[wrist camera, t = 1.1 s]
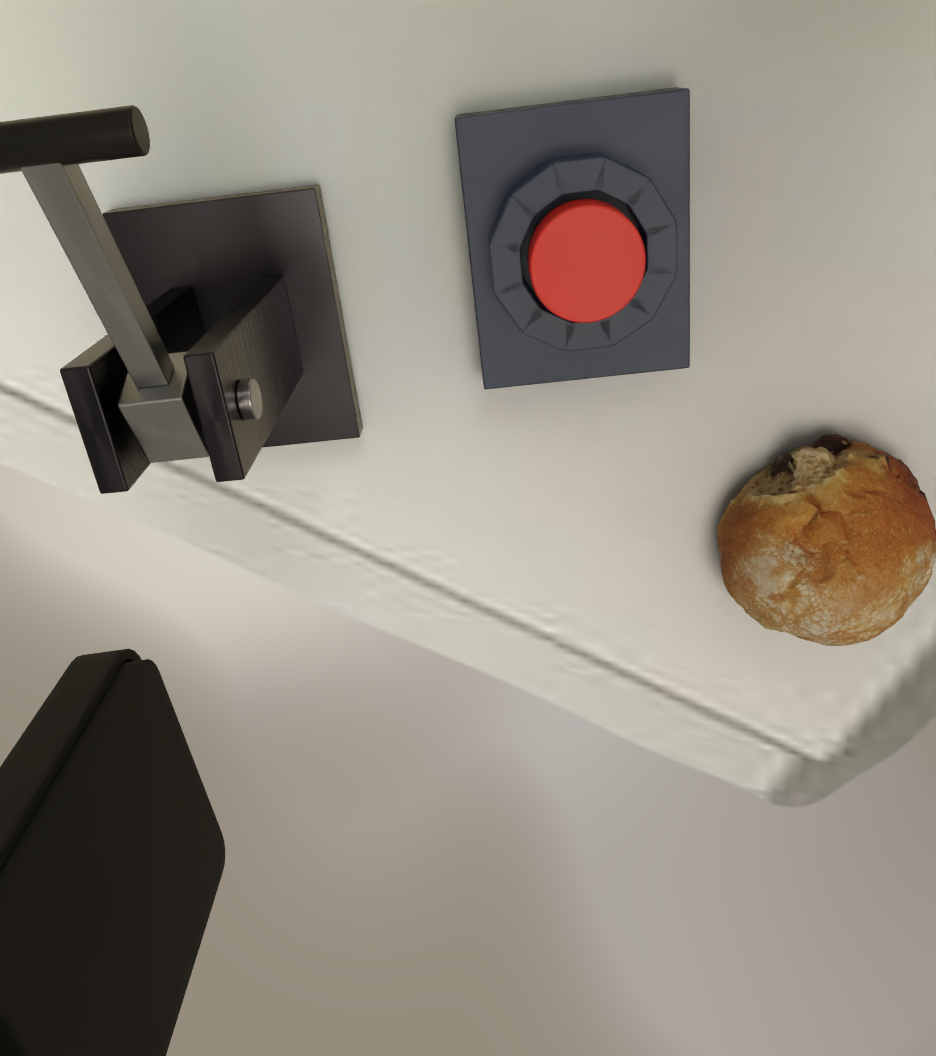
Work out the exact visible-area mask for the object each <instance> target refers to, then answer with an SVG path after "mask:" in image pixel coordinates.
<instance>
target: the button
mask: <svg viewBox="0 0 936 1056" xmlns="http://www.w3.org/2000/svg"><path fill="white" fill-rule="evenodd" d="M645 265H646V255H645V248H644V244H643V241H642V238H641V236H640V234H639V232H638V230H637V229H636V227H635V226H634V224H633V223H632V222H631V221H630V220H629V219H628V218H627V217H626V216H625V215H624V214H623V213H622V212H621V211H620V210H618V209H617V208H616V207H614V206H612V205H611V204H609V203H606V202H604V201H600V200H596V199H578V200H572V201H569V202H566V203H564V204H562V205H560V206H558V207H556V208H555V209H553V210H552V211H551V212H550V213H548V214H547V215H546V216H545V217H544V218H543V219H542V221H541V222H540V223H539V225H538V226H537V227H536V229H535V231H534V233H533V235H532V238H531V241H530V244H529V248H528V269H529V274H530V278H531V282H532V285H533V288H534V290H535V293H536V295H537V296H538V298H539V300H540V301H541V302H542V303H543V305H544V306H545V307H546V308H547V309H548V310H550V311H551V312H552V313H554V314H555V315H557V316H559V317H561V318H563V319H566V320H568V321H573V322H579V323H591V322H596V321H600V320H603V319H606V318H608V317H611V316H613V315H614V314H616V313H617V312H619V311H620V310H621V309H623V308H624V307H625V306H626V305H627V304H628V303H629V302H630V301H631V300H632V298H633V297H634V296H635V294H636V292H637V291H638V289H639V287H640V285H641V282H642V280H643V276H644V272H645Z"/></svg>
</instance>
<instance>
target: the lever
mask: <svg viewBox="0 0 936 1056" xmlns="http://www.w3.org/2000/svg"><path fill="white" fill-rule="evenodd" d="M149 149H150V139H149V132H148V128H147V125H146V122H145V119H144V117H143V115H142V113H141V112H140V110H139V109H138V108H137V107H136V106H133V105H131V106H124V107H116V108H108V109H100V110H92V111H84V112H76V113H69V114H61V115H53V116H45V117H37V118H29V119H21V120H14V121H6V122H0V174H1V173H9V172H17V171H22V172H23V174H24V176H25V178H26V180H27V181H28V183H29V185H30V187H31V189H32V191H33V193H34V195H35V197H36V198H37V200H38V202H39V204H40V206H41V208H42V210H43V212H44V214H45V215H46V217H47V219H48V221H49V223H50V225H51V227H52V229H53V231H54V232H55V234H56V236H57V238H58V240H59V242H60V244H61V246H62V248H63V249H64V251H65V253H66V255H67V257H68V259H69V261H70V263H71V265H72V266H73V268H74V270H75V272H76V274H77V276H78V278H79V280H80V282H81V283H82V285H83V287H84V289H85V291H86V293H87V295H88V297H89V299H90V301H91V302H92V304H93V306H94V308H95V310H96V312H97V314H98V316H99V318H100V319H101V321H102V323H103V325H104V327H105V329H106V331H107V333H108V335H109V336H110V338H111V340H112V342H113V344H114V346H115V348H116V350H117V352H118V353H119V355H120V357H121V359H122V361H123V363H124V365H125V367H126V369H127V370H128V371H127V374H126V377H125V381H124V384H123V387H122V391H121V394H120V397H119V401H118V408H119V410H120V411H121V413H122V415H123V417H124V419H125V420H126V422H127V424H128V426H129V427H130V429H131V431H132V433H133V435H134V436H135V438H136V440H137V442H138V443H139V445H140V447H141V449H142V451H143V452H144V454H145V456H146V458H147V459H148V461H149V462H150V463H154V462H163V461H173V460H183V459H192V458H202V457H209V453H208V449H207V445H206V442H205V438H204V434H203V430H202V426H201V423H200V419H199V415H198V411H197V408H196V404H195V400H194V396H193V392H192V389H191V385H190V381H189V377H188V374H187V370H186V366H185V362H184V358H183V356H184V355H185V354H186V353H187V352H188V351H187V352H178V353H169V354H168V352H167V350H166V348H165V346H164V344H163V342H162V340H161V338H160V336H159V333H158V331H157V329H156V327H155V325H154V323H153V321H152V319H151V317H150V314H149V312H148V310H147V308H146V306H145V304H144V302H143V300H142V298H141V295H140V293H139V291H138V289H137V287H136V285H135V283H134V281H133V279H132V276H131V274H130V272H129V270H128V268H127V266H126V264H125V262H124V260H123V257H122V255H121V253H120V251H119V249H118V247H117V245H116V243H115V241H114V238H113V236H112V234H111V232H110V230H109V228H108V226H107V224H106V222H105V219H104V217H103V215H102V213H101V211H100V209H99V207H98V205H97V203H96V200H95V198H94V196H93V194H92V192H91V190H90V188H89V186H88V184H87V181H86V179H85V177H84V175H83V173H82V171H81V169H80V167H79V165H78V164H82V163H90V162H98V161H106V160H114V159H122V158H130V157H138V156H145V155H147V154H148V153H149Z"/></svg>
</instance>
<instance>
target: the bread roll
mask: <svg viewBox="0 0 936 1056" xmlns="http://www.w3.org/2000/svg"><path fill="white" fill-rule="evenodd" d="M919 488H920V487H919V486H918V481H917V479H916V478H915V477H914V476H913V474H912V473H911V471H910V469H909V468H908V467H907V466H906V465H905V464H904V463H903V462H902V461H901V460H899V459H896V458H894V457H893V456H891V455H889V454H887V453H885V452H883V451H881V450H877V449H875V448H873V447H871V446H870V445H869V444H865V443H861V442H853V441H849V440H848V439H847V438H846V437H843V436H841V435H838V434H829V435H823V436H821V437H820V438H819V439H818V440H817V441H815V442H814V444H813V445H812V446H809V445H805V446H802V447H799V448H797V449H795V450H793V451H792V452H790V453H788V454H787V453H785V454H781V455H780V456H779V457H778V458H777V459H776V460H775V462H774V463H773V464H772V465H770V466H769V467H767V468H766V469H764V470H762V471H760V472H759V473H757V474H756V475H754V476H753V477H751V478H750V480H749V481H748V482H747V483H746V484H745V486H744V487H743V488H742V490H741V491H740V493H739V494H738V495H737V496H736V497H735V498H734V499H732V500H730V504H729V506H728V507H727V509H726V511H725V513H724V514H723V516H722V518H721V519H720V522H719V524H718V527H717V534H718V537H717V539H718V548H719V549H720V553H721V571H722V576H723V581H724V584H725V586H726V588H727V590H728V592H729V594H730V595H731V596H732V597H733V598H734V599H735V601H736V602H737V603H738V604H739V605H740V606H741V607H743V608H744V610H745V612H746V613H747V614H749V615H750V617H752V618H753V619H755V620H756V621H758V622H759V623H760V624H761V625H763V627H764V628H767V629H772V630H777V631H780V632H787V633H789V634H792V635H794V636H796V637H798V638H801V639H804V640H808V641H812V642H816V643H820V644H823V645H829V646H843V645H850V644H855V643H859V642H864V641H868V640H870V639H872V638H874V637H876V636H878V635H879V634H881V633H882V632H884V631H885V630H887V629H888V628H889V627H891V626H892V625H894V624H895V623H896V622H897V621H898V620H899V619H901V618H902V617H903V615H904V613H905V612H906V611H907V609H908V607H909V606H910V605H911V604H912V603H913V602H914V601H915V600H916V598H917V597H918V596H919V595H920V594H921V593H922V591H923V590H924V588H925V587H926V585H927V583H928V581H929V578H930V577H931V575H932V569H933V565H934V561H935V558H936V529H935V520H934V517H933V515H932V512H931V510H930V507H929V504H928V502H927V498H926V496H925V493H923V492H922V491H921V490H920V489H919Z"/></svg>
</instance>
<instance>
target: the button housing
mask: <svg viewBox="0 0 936 1056" xmlns="http://www.w3.org/2000/svg"><path fill="white" fill-rule="evenodd" d="M455 127H456V137H457V146H458V155H459V164H460V173H461V182H462V192H463V201H464V210H465V219H466V228H467V237H468V246H469V256H470V265H471V274H472V283H473V292H474V301H475V311H476V320H477V329H478V338H479V347H480V356H481V366H482V375H483V384H484V389H493V388H502V387H512V386H521V385H530V384H540V383H549V382H559V381H568V380H578V379H587V378H597V377H606V376H615V375H625V374H634V373H644V372H653V371H663V370H672V369H682V368H689V366H690V90H689V89H686V88H678V87H676V88H668V89H660V90H652V91H644V92H636V93H628V94H620V95H612V96H604V97H595V98H587V99H579V100H571V101H563V102H555V103H547V104H539V105H531V106H523V107H515V108H507V109H499V110H491V111H483V112H475V113H466V114H458V115H456V117H455ZM578 199H596V200H600V201H604V202H606V203H609V204H611V205H612V206H614V207H616V208H617V209H618V210H620V211H621V212H622V213H623V214H624V215H625V216H626V217H627V218H628V219H629V220H630V221H631V222H632V223H633V224H634V226H635V227H636V229H637V230H638V232H639V234H640V236H641V238H642V241H643V244H644V248H645V255H646V265H645V272H644V276H643V280H642V282H641V285H640V287H639V289H638V291H637V292H636V294H635V296H634V297H633V298H632V300H631V301H630V302H629V303H628V304H627V305H626V306H625V307H624V308H623V309H621V310H620V311H619V312H617V313H616V314H614V315H613V316H611V317H608V318H606V319H603V320H600V321H596V322H591V323H579V322H573V321H568V320H566V319H563V318H561V317H559V316H557V315H555V314H554V313H552V312H551V311H550V310H548V309H547V308H546V307H545V306H544V305H543V303H542V302H541V301H540V300H539V298H538V296H537V295H536V293H535V290H534V288H533V285H532V282H531V278H530V274H529V269H528V248H529V244H530V241H531V238H532V235H533V233H534V231H535V229H536V227H537V226H538V225H539V223H540V222H541V221H542V219H543V218H544V217H545V216H546V215H547V214H548V213H550V212H551V211H552V210H553V209H555V208H556V207H558V206H560V205H562V204H564V203H566V202H569V201H572V200H578Z"/></svg>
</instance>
